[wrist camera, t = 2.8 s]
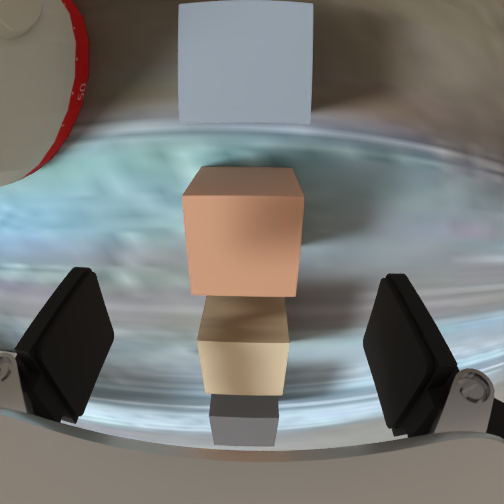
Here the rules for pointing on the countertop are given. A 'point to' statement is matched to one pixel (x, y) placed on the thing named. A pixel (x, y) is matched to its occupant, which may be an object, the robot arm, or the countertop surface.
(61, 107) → the kitchen timer
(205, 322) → the maple block
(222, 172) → the terracotta block
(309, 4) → the slate block
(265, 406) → the charcoal block
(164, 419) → the countertop surface
